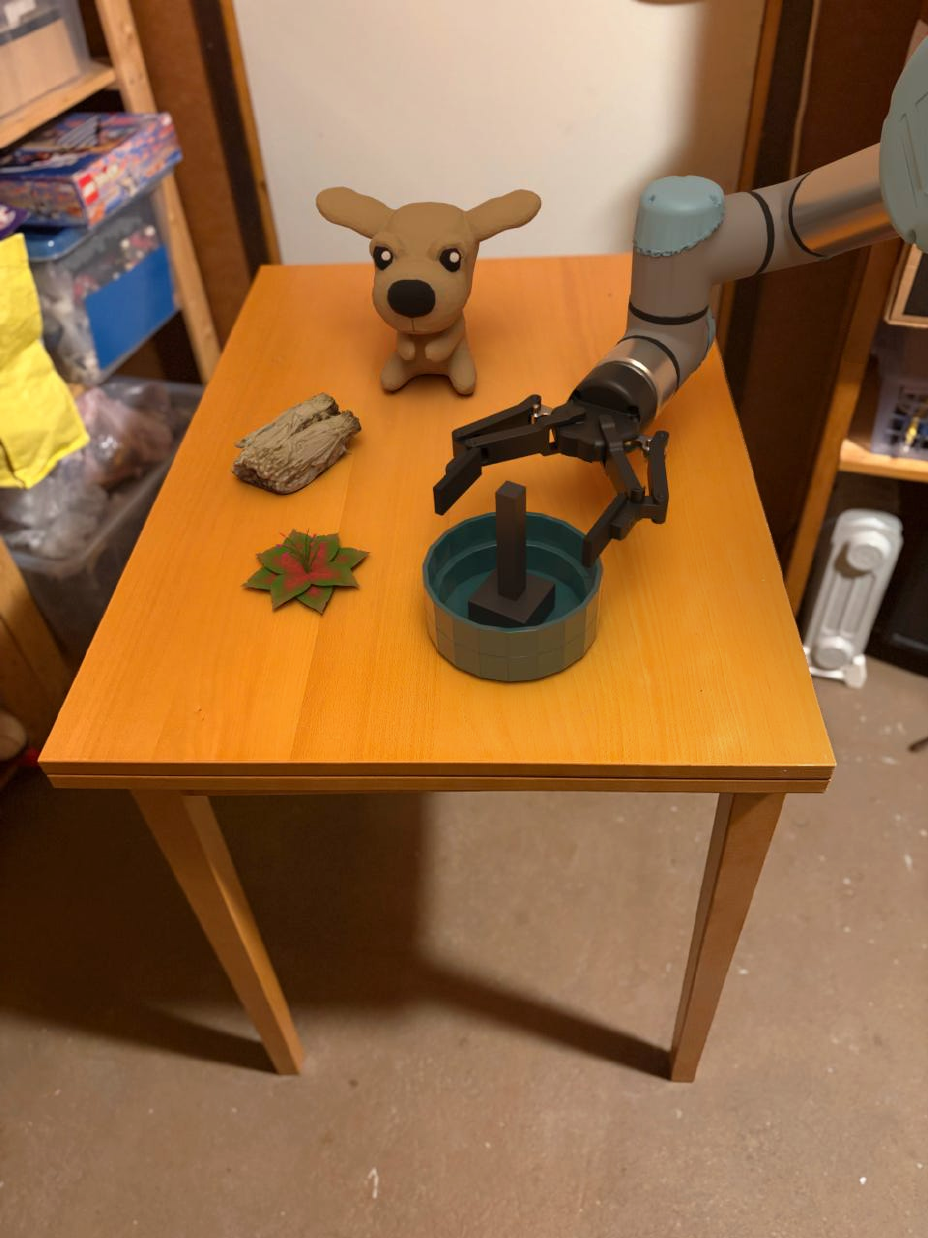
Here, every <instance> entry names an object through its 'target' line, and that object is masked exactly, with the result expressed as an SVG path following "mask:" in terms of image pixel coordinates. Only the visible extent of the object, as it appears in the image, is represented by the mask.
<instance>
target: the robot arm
mask: <svg viewBox="0 0 928 1238" xmlns="http://www.w3.org/2000/svg"><path fill="white" fill-rule="evenodd" d="M889 106H890V107H889V111H888V114H887V116H886V118H885V119H883V123H882V129H881V135H880V141H879V142H878V143H875V144H873V145H871V146H868V147H866V148H863V149H861V150H859V151H856V152H854V153H852V154H850V155H847V156H844V157H842V158H840V159H837V160H835V161H833V162H830V163H828V164H825V165H823V166H821V167H818V168H816V169H813V171H808V172H807V173H804V174H802V175H799V176H796V177H794V178H792V179H790V180H787V181H784V182H779V183H776V184H773V185H772V184H771V185H768V186H765V187H760V188H756V189H753V190H745V191H739V192H735V193H729V194H725V193H724V190H723V188H722V187H721V185H719V183H717V182H715V181H714V180H712V179H709V178H707V177H702V176H699V175H698V176H697V175H689V174H688V175H685V176H678V175H669V176H665V177H661V178H658V179H656V180H654V181H652V182H650V184H648V185H647V186H646V187H645V188H644V189H643V191H642V193H641V194H640V197H639V198H638V199H639V200H638V204H637V209H636V213H635V221H634V226H633V232H632V240H631V241H632V255H631V257H632V258H631V276H630V292H629V293H630V294H629V295H628V303H627V315H626V325H625V326H626V328H625V332H624V334H623V336H622V337H621V338H620V339H619V341H618V342H617V343H616V344H615V345H614V346H613V347H611V349H610V350H609V351H608V352H607V353H606V354H604V356H603V357H602V358H601V359H600V360H599V361H598V362H597V363H596V364H595V366H594V367H593V368H592V369H591V371H589V372H588V373H587V375H585V377H583V379H582V380H581V381H579V383H578V384H577V385H576V386H575V388H573V390H572V392H571V393H570V395H569V397H568V398H567V400H566V401H565V403H563V404H560V405H558V406H556V407H551V406H548V405H545V404H542V396H541V395H540V394H537V393H533V394H530V395H529V396H528V397H526V398H525V399H524V400H523V401H521V402H519V404H518V403H517V404H516V405H513V406H511V407H508V408H506V409H503V410H500V411H497V412H495V413H493V414H490V415H488V416H486V417H483V418H481V419H477V420H475V421H473V422H470V423H468V424H465V425H462V426H460V427H458V428H455V429H453V430H452V431H451V444H452V456H453V457H452V459H451V460H450V461H448V463H447V464H446V465H445V467H444V468H445V469H444V471H445V474H444V475H443V476H442V478H441V479H439V481H437V483H436V484H435V485H434V486H432V494H433V496H432V497H433V506H434V514H435V515H439V516H442V517H444V515H445V514H446V513H447V512H449V510H450V509H451V508H452V507H453V506H454V505H455V503H457V501H459V499H461V497H462V496H463V495H464V494H465V493H466V492H467V491H468V490H469V489H470V488H471V487H472V486H473V485H474V484H475V483H476V482H477V480H479V478H480V477H482V475H483V468H484V467H488V466H492V465H496V464H501V463H504V462H509V461H513V460H518V459H521V458H526V457H530V456H535V455H539V454H540V455H541V456H542V457H548V456H554V455H558V454H560V455H562V456H565V457H569V458H578V459H579V460H581V461H582V462H585V463H589V464H593V463H600V465H601V467H602V470H603V472H604V474H605V476H608V477H609V480H610V482H611V485H612V487H613V489H614V492H615V493H616V495H615V497H614V498H613V499H612V501H611V502H610V503H609V505H607V507H606V509H605V510H604V511H603V512H602V514H601V515H600V516H599V517H598V519H597V520H596V522H595V523H594V524H593V525H592V526H591V528H590V529H589V530H588V532H587V533H585V535H586V536H585V537H584V538H583V546H582V562H581V565H582V566H584V567H587V568H591V566H592V565H593V564H594V562H595V561H596V560H597V558H598V557H599V556H600V557H601V554H602V553H603V552H604V551H605V549H607V546H608V545H609V544H610V543H611V541H612V539H613V540H615V541H618V542H621V541H623V540H625V539H626V538H627V536H628V535H629V534H630V533H631V531H632V530H633V528H634V527H635V526H636V524H637V523H638V522H641V521H642V520H643V519H644V520H645V519H647V520H650V522H652V523H653V524H655V525H663V524H665V523H666V521H667V515H668V508H669V502H670V501H669V500H670V493H669V483H668V475H667V466H666V465H667V464H666V460H667V454H668V447H669V439H670V433H669V432H668V431H667V430H662V429H661V430H657V431H656V432H655V433H654V434H653V436H652V435H647V434H645V433H646V432H648V430H649V428H650V427H651V426H652V424H653V423H654V421H655V420H656V419H657V418H658V416H659V415H660V414H661V413H662V411H664V409H665V408H666V407H667V406H668V404H669V403H670V401H672V399H673V398H674V396H675V395H676V393H677V392H678V391H679V390H680V388H681V387H682V386H683V385H684V384H685V383H686V382H687V380H688V379H689V378H690V377H691V375H693V374H694V373H695V372H696V371H697V370H698V369H699V368H700V367H701V365H702V363H703V362H704V361H705V359H707V357H708V353H709V352H710V350H711V348H712V347H713V344H714V342H715V339H716V331H717V330H716V329H717V326H716V322H715V319H714V316H713V314H712V310H711V309H710V307H709V304H710V300H711V296H712V291H713V287H715V286H717V285H721V284H725V283H729V282H734V281H738V280H742V279H746V278H750V277H756V276H758V275H761V274H765V273H771V272H775V271H779V270H784V269H788V268H789V269H790V268H793V267H798V266H803V265H808V264H813V263H817V262H822V261H826V260H829V259H831V258H833V257H835V256H838V255H841V254H843V253H846V252H849V251H852V250H853V251H854V250H856V249H861V248H863V247H867V246H872V245H875V244H878V243H882V242H886V241H890V240H893V239H896V238H901V239H902V240H903V241H904V242H905V243H906V244H909V245H915V248H916V249H917V250H918V251H920V252H921V253H923V254H927V255H928V34H926V36H925V37H924V39H922V41H921V42H920V43H919V45H918V46H917V47H916V48H915V50H914V52H913V53H912V54H911V56H910V57H909V59H908V61H907V63H906V64H905V66H904V67H903V70H902V72H901V74H900V76H899V77H898V80H897V82H896V84H895V87H894V88H893V91H892V94H891V100H890V105H889ZM551 434H552V438H553V441H550V439H551V436H550V435H551ZM636 450H638V451H640V456H641V457H642V458H643V462H644V463H645V464H646V479H647V485H644V486H642V485H641V483H640V480H639V478H638V476H637V474H636V473H635V470H634V468H633V466H632V463H631V462H630V459H629V457H628V456H627V455H629V454H631V453H634V452H635V451H636ZM646 489H647V490H648V495H646Z"/></svg>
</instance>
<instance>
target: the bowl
mask: <svg viewBox="0 0 928 1238" xmlns="http://www.w3.org/2000/svg"><path fill="white" fill-rule="evenodd" d="M585 536H586V533H584V532H583V531H582V530H580V529H578V528H576V527H575V526H574V525H573V524H570V523H569V522H567V521H565V520H564V519H560V518H557V517H554V516H551V515H549V514H546V513H544V512H543V513H542V512H535V511H527V510H526V572H527V573H530V574H532V575H535V576H538V577H540V578H543V579H546V580H548V581H551V582H554V583H555V584H556V587H555V608H554V609H553V610H552V612H551V613H550V614H549V616H548V617H547V618H546V620H545V621H544V622H543V624H540V625H537V626H529V627H517V628H502V627H495V626H488V625H481V624H478V623H476V622H473V621H471V620H469V614H468V600H469V599H470V597H471V596H472V595H473V594H474V593H475V592H476V590H477V589H478V588H479V587H480V586H481V585H482V583H483V582H484V581H485V580H486V579H487V577H488V576H489V575H490V574H491V573H492V572H493V570H494V569H495V568H496V567H497V542H496V511H490V512H485V513H482V514H479V515H476V516H472V517H469V518H465V519H463V520H462V521H460V522H458V523H456V524H455V525H453V526H451V527H450V528H448V529H446V530H445V531H443V532H442V533H441V534H440V535H439V536H438V537H437V538H436V540H435V541H434V542H433V543H431V545H430V546H429V547H428V549H427V552H426V555H425V557H424V560H423V562H422V564H421V572H422V583H423V584H422V585H423V595H424V603H425V613H426V622H427V633H428V635H429V637H430V639H431V640H432V643H433V644H434V646H435V648H436V650H437V651H438V652H439V654H440V655H442V656H443V657H444V658H445V659H446V660H447V661H449V662H450V663H451V664H452V665H453V666H455V667H456V668H458V669H460V670H462V671H465V672H467V673H469V674H471V675H474V676H477V677H479V678H484V679H489V680H496V681H502V682H518V681H530V680H538V679H541V678H544V677H548V676H550V675H552V674H555V673H559V672H562V671H564V670H565V669H566V668H568V667H569V666H571V665H572V664H573V663H575V662H576V661H578V660H579V659H581V658H582V657H584V655H585V654H586V652H587V651H588V649H589V648H590V646H591V645H592V644H593V642H594V641H595V639H596V637H597V632H598V627H599V621H600V613H601V601H602V590H603V589H602V588H603V578H604V567H603V563H602V560H601V555H600V556H599V557H598V558H597V560H596V561H595V562H594V564H593V565H592V566H591V568H587V567H584V566H582V565H581V562H582V546H583V538H584V537H585Z"/></svg>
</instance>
